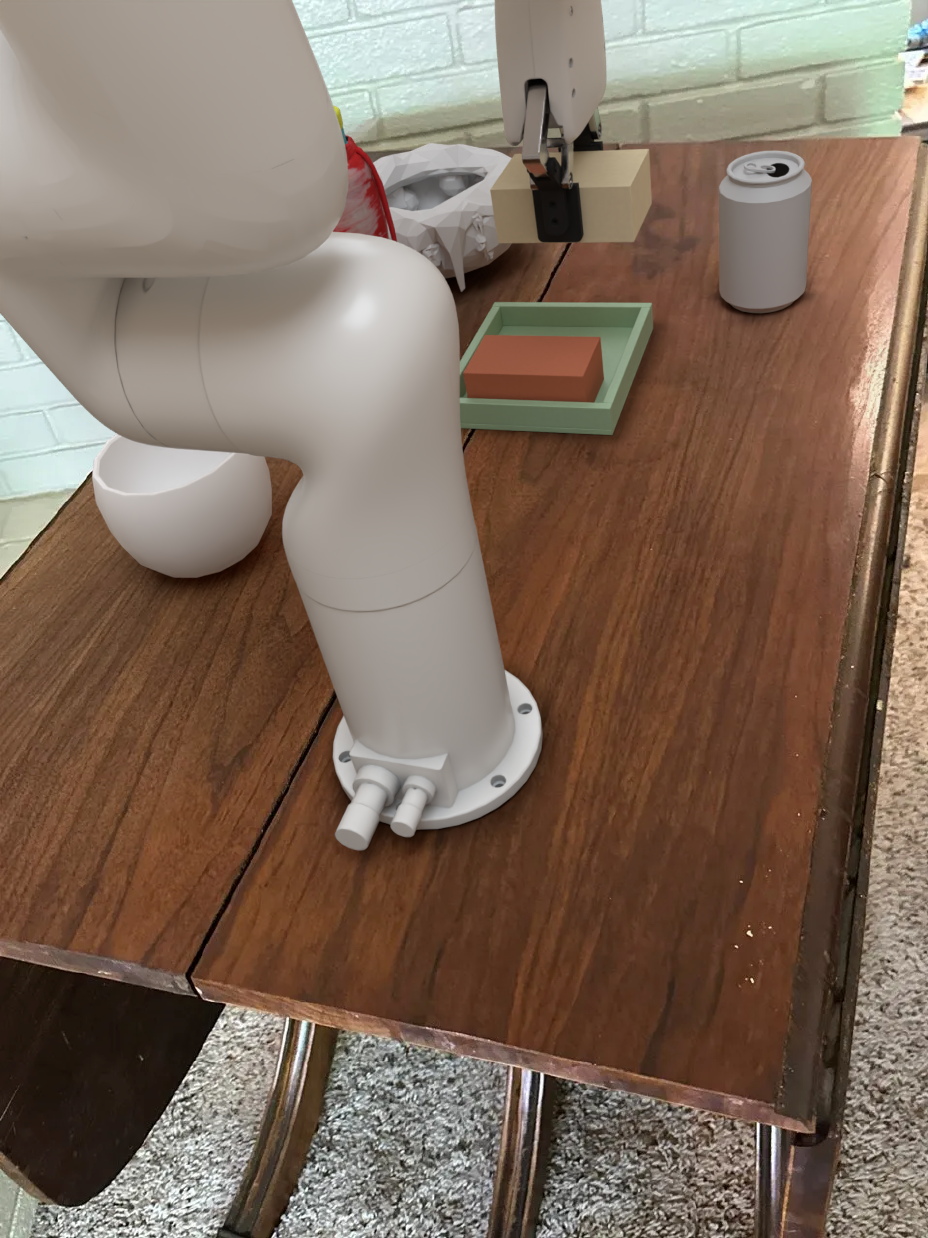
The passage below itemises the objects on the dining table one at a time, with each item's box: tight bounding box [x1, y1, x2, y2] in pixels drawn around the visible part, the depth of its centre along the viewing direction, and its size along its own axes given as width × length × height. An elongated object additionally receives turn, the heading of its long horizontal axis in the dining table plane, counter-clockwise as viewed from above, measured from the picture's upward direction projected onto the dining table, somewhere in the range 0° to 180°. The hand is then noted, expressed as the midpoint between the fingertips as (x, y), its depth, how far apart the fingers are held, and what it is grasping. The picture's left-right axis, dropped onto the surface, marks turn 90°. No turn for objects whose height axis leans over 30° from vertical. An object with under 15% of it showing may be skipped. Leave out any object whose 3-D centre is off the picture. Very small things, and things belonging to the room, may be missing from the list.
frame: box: [460, 301, 654, 436], centre depth 93 cm, size 17×15×2 cm
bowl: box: [372, 142, 513, 293], centre depth 109 cm, size 21×20×10 cm
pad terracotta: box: [463, 335, 604, 403], centre depth 89 cm, size 6×10×4 cm, turn 72°
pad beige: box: [490, 148, 653, 244], centre depth 77 cm, size 6×10×4 cm, turn 71°
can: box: [718, 150, 813, 314], centre depth 93 cm, size 8×8×12 cm
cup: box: [91, 433, 273, 579], centre depth 80 cm, size 12×12×10 cm
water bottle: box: [333, 104, 397, 242], centre depth 86 cm, size 12×8×25 cm, turn 77°
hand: (573, 215), depth 78 cm, fingers closed on pad beige, 6 cm apart
